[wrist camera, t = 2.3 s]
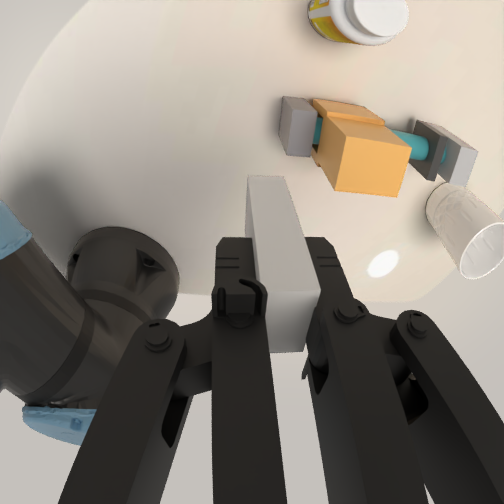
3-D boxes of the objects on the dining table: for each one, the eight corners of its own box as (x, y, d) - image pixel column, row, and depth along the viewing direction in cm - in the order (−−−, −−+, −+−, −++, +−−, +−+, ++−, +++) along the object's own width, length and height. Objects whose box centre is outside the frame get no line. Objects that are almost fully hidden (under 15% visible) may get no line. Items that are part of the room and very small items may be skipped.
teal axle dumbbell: (278, 137, 30) (288, 165, 25) (283, 93, 27) (296, 110, 22) (432, 160, 32) (464, 189, 26) (442, 124, 29) (479, 148, 23)
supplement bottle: (364, 43, 24) (419, 54, 16) (307, 40, 24) (342, 44, 16) (363, -9, 20) (418, -19, 12) (305, -14, 20) (339, -35, 12)
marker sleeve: (306, 146, 29) (333, 196, 21) (313, 98, 26) (347, 130, 18) (354, 152, 29) (395, 202, 22) (364, 106, 26) (413, 142, 19)
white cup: (447, 235, 39) (483, 284, 31) (410, 218, 37) (447, 271, 29) (477, 190, 34) (521, 235, 26) (442, 167, 32) (490, 212, 24)
